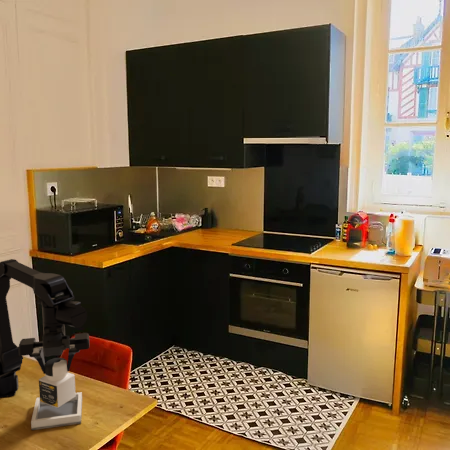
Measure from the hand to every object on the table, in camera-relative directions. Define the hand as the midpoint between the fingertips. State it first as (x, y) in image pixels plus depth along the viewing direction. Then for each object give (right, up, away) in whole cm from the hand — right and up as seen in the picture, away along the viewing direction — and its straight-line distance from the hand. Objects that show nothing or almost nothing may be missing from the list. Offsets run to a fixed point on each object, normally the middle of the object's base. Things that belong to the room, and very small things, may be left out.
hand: (56, 371), depth 138 cm
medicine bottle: (0, -9, +2) cm, 9 cm away
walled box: (0, -13, +2) cm, 13 cm away
